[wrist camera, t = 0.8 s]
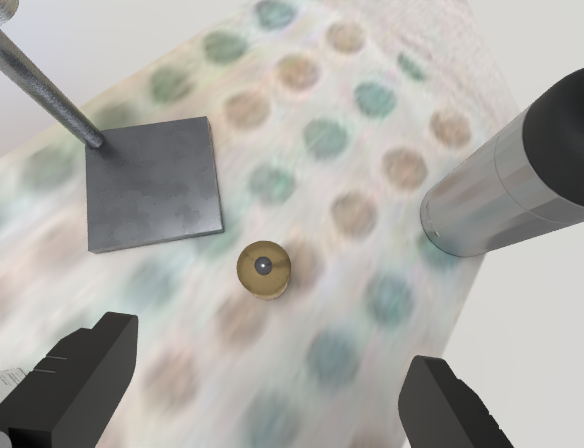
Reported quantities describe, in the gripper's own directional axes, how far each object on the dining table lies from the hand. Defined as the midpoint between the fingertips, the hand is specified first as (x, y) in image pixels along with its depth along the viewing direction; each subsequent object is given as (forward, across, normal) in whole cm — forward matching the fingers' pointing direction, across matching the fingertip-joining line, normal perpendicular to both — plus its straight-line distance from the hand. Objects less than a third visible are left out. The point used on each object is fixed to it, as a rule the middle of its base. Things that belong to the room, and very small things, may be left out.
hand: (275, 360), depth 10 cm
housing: (+25, -1, +11) cm, 27 cm away
